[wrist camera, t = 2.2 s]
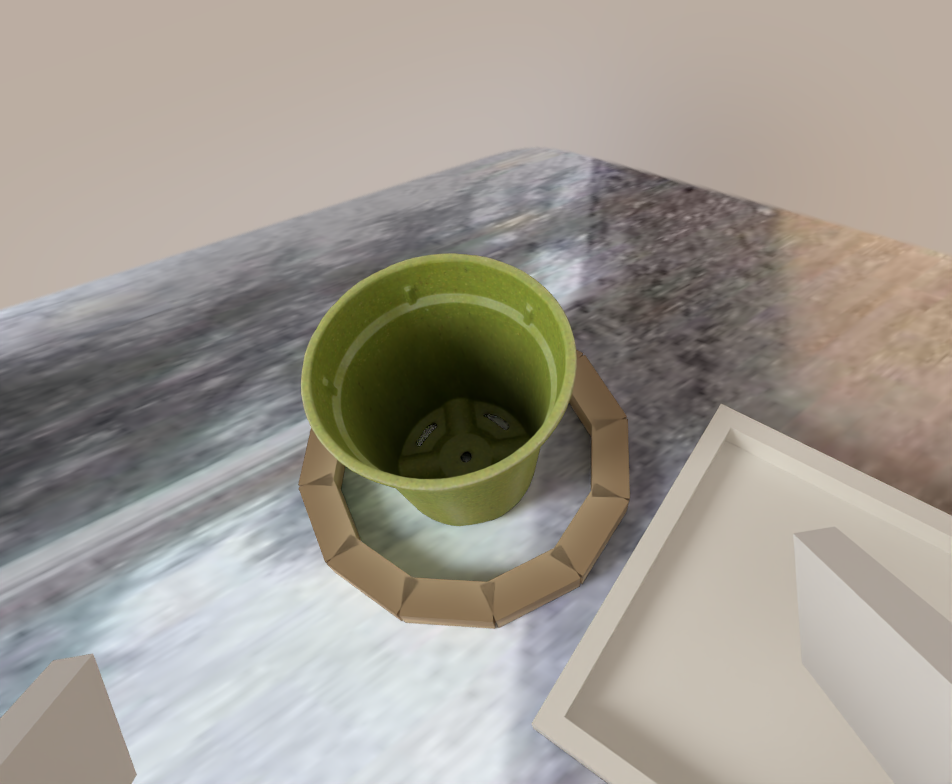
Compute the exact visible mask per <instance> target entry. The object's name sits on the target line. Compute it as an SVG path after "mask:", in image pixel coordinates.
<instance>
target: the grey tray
mask: <svg viewBox="0 0 952 784" xmlns="http://www.w3.org/2000/svg"><path fill="white" fill-rule="evenodd" d="M834 526H835V527H836V528H837V529H839V530H840V531H841V532H842V533H843V534H845V535H846V536H847V537H848V538H850V539H851V540H852V541H853V542H854V543H856V544H857V545H858V546H859V547H860V548H862V549H863V550H864V551H865V552H866V553H868V554H869V555H870V556H871V557H872V558H874V559H875V560H876V561H877V562H879V563H880V564H881V565H882V566H883V567H885V568H886V569H887V570H888V571H889V572H891V573H892V574H893V575H894V576H895V577H897V578H898V579H899V580H900V581H901V582H903V583H904V584H905V585H906V586H908V587H909V588H910V589H911V590H912V591H914V592H915V593H916V594H917V595H918V596H920V597H921V598H922V599H923V600H924V601H926V602H927V603H928V604H929V605H930V606H932V607H933V608H934V609H935V610H937V611H938V612H939V613H940V614H941V615H943V616H944V617H945V618H946V619H947V620H949V621H950V622H951V623H952V516H951V515H949V514H947V513H945V512H943V511H941V510H939V509H937V508H935V507H933V506H931V505H929V504H927V503H925V502H922V501H920V500H918V499H916V498H914V497H912V496H910V495H908V494H906V493H904V492H902V491H900V490H898V489H896V488H894V487H892V486H890V485H887V484H885V483H883V482H881V481H879V480H877V479H875V478H873V477H871V476H869V475H867V474H865V473H863V472H861V471H859V470H857V469H855V468H852V467H850V466H848V465H846V464H844V463H842V462H840V461H838V460H836V459H834V458H832V457H830V456H828V455H826V454H824V453H822V452H820V451H817V450H815V449H813V448H811V447H809V446H807V445H805V444H803V443H801V442H799V441H797V440H795V439H793V438H791V437H789V436H787V435H784V434H782V433H780V432H778V431H776V430H774V429H772V428H770V427H768V426H766V425H764V424H762V423H760V422H758V421H756V420H754V419H752V418H749V417H747V416H745V415H743V414H741V413H739V412H737V411H735V410H733V409H731V408H729V407H727V406H725V405H723V404H721V405H720V406H719V408H718V410H717V411H716V413H715V415H714V416H713V418H712V420H711V421H710V423H709V425H708V427H707V428H706V430H705V432H704V433H703V435H702V437H701V438H700V440H699V442H698V443H697V445H696V447H695V449H694V450H693V452H692V454H691V455H690V457H689V459H688V460H687V462H686V464H685V465H684V467H683V469H682V470H681V472H680V474H679V476H678V477H677V479H676V481H675V482H674V484H673V486H672V487H671V489H670V491H669V492H668V494H667V496H666V497H665V499H664V501H663V503H662V504H661V506H660V508H659V509H658V511H657V513H656V514H655V516H654V518H653V519H652V521H651V523H650V524H649V526H648V528H647V530H646V531H645V533H644V535H643V536H642V538H641V540H640V541H639V543H638V545H637V546H636V548H635V550H634V551H633V553H632V555H631V557H630V558H629V560H628V562H627V563H626V565H625V567H624V568H623V570H622V572H621V573H620V575H619V577H618V578H617V580H616V582H615V584H614V585H613V587H612V589H611V590H610V592H609V594H608V595H607V597H606V599H605V600H604V602H603V604H602V606H601V607H600V609H599V611H598V612H597V614H596V616H595V617H594V619H593V621H592V622H591V624H590V626H589V627H588V629H587V631H586V633H585V634H584V636H583V638H582V639H581V641H580V643H579V644H578V646H577V648H576V649H575V651H574V653H573V654H572V656H571V658H570V660H569V661H568V663H567V665H566V666H565V668H564V670H563V671H562V673H561V675H560V676H559V678H558V680H557V681H556V683H555V685H554V687H553V688H552V690H551V692H550V693H549V695H548V697H547V698H546V700H545V702H544V703H543V705H542V707H541V708H540V710H539V712H538V714H537V715H536V717H535V719H534V720H533V722H532V726H533V728H534V729H535V730H536V731H538V732H539V733H540V734H542V735H543V736H544V737H546V738H547V739H548V740H550V741H551V742H552V743H554V744H555V745H557V746H558V747H559V748H561V749H562V750H563V751H565V752H566V753H567V754H569V755H570V756H571V757H573V758H574V759H575V760H577V761H578V762H580V763H581V764H582V765H584V766H585V767H586V768H588V769H589V770H590V771H592V772H593V773H594V774H596V775H597V776H598V777H600V778H601V779H603V780H604V781H605V782H607V783H608V784H894V782H893V781H892V780H891V778H890V777H889V776H888V775H887V773H886V772H885V771H884V769H883V768H882V767H881V765H880V764H879V763H878V761H877V760H876V759H875V758H874V756H873V755H872V754H871V752H870V751H869V750H868V748H867V747H866V746H865V745H864V743H863V742H862V741H861V739H860V738H859V737H858V735H857V734H856V733H855V732H854V730H853V729H852V728H851V726H850V725H849V724H848V722H847V721H846V720H845V718H844V717H843V716H842V715H841V713H840V712H839V711H838V709H837V708H836V707H835V705H834V704H833V703H832V702H831V700H830V699H829V698H828V696H827V695H826V694H825V692H824V691H823V690H822V688H821V687H820V686H819V685H818V683H817V682H816V681H815V679H814V678H813V677H812V675H811V674H810V673H809V672H808V670H807V669H806V668H805V666H804V665H803V664H802V657H801V642H800V628H799V613H798V598H797V583H796V568H795V554H794V539H793V533H799V532H805V531H811V530H816V529H822V528H828V527H834Z"/></svg>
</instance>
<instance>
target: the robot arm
mask: <svg viewBox="0 0 952 784" xmlns="http://www.w3.org/2000/svg"><path fill="white" fill-rule="evenodd" d="M793 539H794V554H795V568H796V583H797V598H798V613H799V628H800V642H801V657H802V664H803V665H804V666H805V668H806V669H807V670H808V672H809V673H810V674H811V675H812V677H813V678H814V679H815V681H816V682H817V683H818V685H819V686H820V687H821V688H822V690H823V691H824V692H825V694H826V695H827V696H828V698H829V699H830V700H831V702H832V703H833V704H834V705H835V707H836V708H837V709H838V711H839V712H840V713H841V715H842V716H843V717H844V718H845V720H846V721H847V722H848V724H849V725H850V726H851V728H852V729H853V730H854V732H855V733H856V734H857V735H858V737H859V738H860V739H861V741H862V742H863V743H864V745H865V746H866V747H867V748H868V750H869V751H870V752H871V754H872V755H873V756H874V758H875V759H876V760H877V761H878V763H879V764H880V765H881V767H882V768H883V769H884V771H885V772H886V773H887V775H888V776H889V777H890V778H891V780H892V781H893V782H894V784H952V623H951V622H950V621H949V620H947V619H946V618H945V617H944V616H943V615H941V614H940V613H939V612H938V611H937V610H935V609H934V608H933V607H932V606H930V605H929V604H928V603H927V602H926V601H924V600H923V599H922V598H921V597H920V596H918V595H917V594H916V593H915V592H914V591H912V590H911V589H910V588H909V587H908V586H906V585H905V584H904V583H903V582H901V581H900V580H899V579H898V578H897V577H895V576H894V575H893V574H892V573H891V572H889V571H888V570H887V569H886V568H885V567H883V566H882V565H881V564H880V563H879V562H877V561H876V560H875V559H874V558H872V557H871V556H870V555H869V554H868V553H866V552H865V551H864V550H863V549H862V548H860V547H859V546H858V545H857V544H856V543H854V542H853V541H852V540H851V539H850V538H848V537H847V536H846V535H845V534H843V533H842V532H841V531H840V530H839V529H837V528H836V527H835V526H834V527H828V528H822V529H816V530H811V531H805V532H799V533H793ZM136 775H137V774H136V772H135V769H134V766H133V763H132V760H131V758H130V755H129V752H128V749H127V747H126V744H125V741H124V738H123V735H122V733H121V730H120V727H119V724H118V722H117V719H116V716H115V713H114V710H113V708H112V705H111V702H110V699H109V697H108V694H107V691H106V688H105V685H104V683H103V680H102V677H101V674H100V671H99V669H98V666H97V663H96V660H95V658H94V655H93V654H88V655H82V656H77V657H71V658H65V659H59V660H53V661H52V662H51V663H50V664H49V666H48V667H47V668H46V669H45V670H44V671H43V672H42V673H41V674H40V676H39V677H38V678H37V679H36V680H35V681H34V682H33V683H32V684H31V685H30V687H29V688H28V689H27V690H26V691H25V692H24V693H23V694H22V695H21V696H20V698H19V699H18V700H17V701H16V702H15V703H14V704H13V705H12V706H11V707H10V709H9V710H8V711H7V712H6V713H5V714H4V715H3V716H2V717H1V718H0V784H132V782H133V780H134V778H135V777H136Z"/></svg>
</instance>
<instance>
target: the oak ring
mask: <svg viewBox="0 0 952 784" xmlns="http://www.w3.org/2000/svg"><path fill="white" fill-rule="evenodd" d="M576 355H577V362H576V366H577V367H576V376H575V382H574V387H573V391H572V395H571V398H570V401H569V403H570V405H571V406H572V408H573V409H574V411H575V413H576V414H577V416H578V417H579V419H580V420H581V422H582V424H583V425H584V427H585V428H586V430H587V431H588V433H589V435H590V436H591V492H590V493H589V495H588V496H587V498H586V499H585V501H584V503H583V504H582V506H581V507H580V509H579V510H578V512H577V513H576V515H575V517H574V518H573V520H572V521H571V523H570V524H569V526H568V527H567V529H566V531H565V532H564V534H563V535H562V537H561V538H560V540H559V541H558V543H557V545H556V546H555V548H553V549H551V550H549V551H547V552H545V553H543V554H541V555H539V556H538V557H536V558H534V559H532V560H530V561H528V562H526V563H524V564H522V565H520V566H518V567H516V568H514V569H512V570H510V571H508V572H506V573H504V574H502V575H500V576H498V577H496V578H494V579H492V580H490V581H488V582H482V581H464V580H447V579H429V578H413V577H411V576H410V575H408V574H407V573H406V572H404V571H403V570H401V569H400V568H398V567H397V566H396V565H394V564H393V563H391V562H390V561H388V560H387V559H386V558H384V557H383V556H381V555H380V554H378V553H377V552H376V551H374V550H373V549H371V548H370V547H368V546H367V545H366V544H364V543H363V542H361V539H360V537H359V534H358V532H357V529H356V527H355V524H354V522H353V519H352V517H351V514H350V511H349V509H348V506H347V504H346V501H345V499H344V496H343V494H342V491H341V486H342V481H343V476H344V471H345V465H343V464H342V463H340V462H339V461H338V460H337V459H336V458H335V457H334V456H333V455H332V454H331V453H330V452H329V451H328V450H327V449H326V448H325V447H324V445H323V444H322V443H321V442H320V441H319V439H318V438H317V436H316V434H315V433H314V431H313V430H312V428H311V431H310V435H309V440H308V444H307V448H306V453H305V457H304V462H303V466H302V471H301V475H300V480H299V484H298V485H299V486H300V487H299V491H300V493H301V496H302V499H303V502H304V504H305V507H306V510H307V513H308V516H309V518H310V521H311V524H312V527H313V530H314V532H315V535H316V538H317V541H318V543H319V546H320V549H321V552H322V555H323V557H324V560H325V562H326V563H327V565H328V566H329V567H330V568H331V569H332V570H333V571H334V572H335V573H337V574H338V575H339V576H341V577H342V578H344V579H345V580H346V581H348V582H349V583H350V584H352V585H353V586H354V587H356V588H357V589H359V590H360V591H361V592H363V593H364V594H365V595H367V596H368V597H369V598H371V599H372V600H374V601H375V602H376V603H378V604H379V605H380V606H382V607H383V608H384V609H386V610H387V611H389V612H390V613H391V614H393V615H394V616H395V617H397V618H398V619H399V620H401V621H403V620H404V622H405V623H418V624H433V625H448V626H463V627H478V628H493V629H495V623H497V625H498V627H501V626H503V625H505V624H507V623H509V622H511V621H513V620H515V619H517V618H519V617H521V616H523V615H525V614H527V613H529V612H531V611H533V610H535V609H537V608H539V607H540V606H542V605H544V604H546V603H548V602H550V601H552V600H554V599H556V598H558V597H560V596H562V595H564V594H566V593H568V592H570V591H572V590H574V589H576V588H578V587H579V586H580V583H581V584H583V582H584V580H585V579H586V577H587V575H588V574H589V572H590V570H591V569H592V567H593V566H594V564H595V562H596V561H597V559H598V557H599V556H600V554H601V552H602V551H603V549H604V548H605V546H606V544H607V543H608V541H609V539H610V538H611V536H612V535H613V533H614V531H615V530H616V528H617V526H618V525H619V523H620V521H621V520H622V518H623V517H624V515H625V513H626V511H627V508H628V503H629V499H630V489H629V451H628V419H626V418H627V416H626V415H625V413H624V412H623V410H622V409H621V407H620V406H619V404H618V403H617V401H616V400H615V398H614V397H613V395H612V394H611V392H610V391H609V390H608V388H607V387H606V385H605V384H604V382H603V381H602V379H601V378H600V376H599V375H598V373H597V372H596V370H595V369H594V367H593V366H592V365H591V363H590V362H589V360H588V359H587V357H586V356H585V355H584V356H583V353H582V352H580V351H578V350H576Z"/></svg>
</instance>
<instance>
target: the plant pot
mask: <svg viewBox="0 0 952 784" xmlns="http://www.w3.org/2000/svg"><path fill="white" fill-rule="evenodd" d="M576 362H577V355H576V346H575V341H574V336H573V333H572V330H571V327H570V324H569V321H568V319H567V317H566V315H565V313H564V311H563V309H562V307H561V306H560V304H559V303H558V302H557V300H556V299H555V298H554V297H553V296H552V294H551V293H550V292H549V291H548V290H547V289H546V288H545V287H544V286H542V285H541V284H540V283H539V282H537V281H536V280H535V279H534V278H532V277H531V276H530V275H528V274H526V273H525V272H523V271H522V270H520V269H517V268H515V267H513V266H510V265H508V264H505V263H503V262H500V261H497V260H495V259H491V258H487V257H483V256H477V255H467V254H456V253H455V254H451V253H450V254H434V255H427V256H421V257H416V258H411V259H407V260H404V261H402V262H399V263H396V264H394V265H391V266H389V267H387V268H385V269H383V270H380V271H379V272H377V273H374V274H372V275H370V276H369V277H367V278H365V279H363V280H362V281H360V282H359V283H357V284H356V285H354V286H353V287H352V288H351V289H349V290H348V291H347V292H346V293H345V294H344V295H343V296H342V297H340V299H339V300H338V301H337V302H336V303H335V304H334V305H333V306H332V307H331V308H330V309H329V310H328V312H327V313H326V314H325V316H324V317H323V318H322V320H321V322H320V323H319V325H318V327H317V329H316V330H315V332H314V334H313V335H312V337H311V340H310V342H309V344H308V347H307V350H306V352H305V356H304V362H303V368H302V376H301V395H302V401H303V405H304V409H305V413H306V416H307V419H308V421H309V423H310V426H311V428H312V430H313V431H314V433H315V434H316V436H317V438H318V439H319V441H320V442H321V443H322V444H323V445H324V447H325V448H326V449H327V450H328V451H329V452H330V453H331V454H332V455H333V456H334V457H335V458H336V459H337V460H338V461H339V462H340V463H342V464H343V465H345V466H346V467H347V468H349V469H350V470H352V471H353V472H355V473H357V474H359V475H361V476H363V477H365V478H367V479H369V480H372V481H374V482H377V483H380V484H383V485H386V486H390V487H393V488H396V489H397V490H398V491H399V492H400V493H401V494H402V495H403V496H404V497H405V498H406V499H407V500H408V501H409V502H410V503H412V504H413V505H414V506H415V507H416V508H417V509H418V510H419V511H421V512H422V513H423V514H425V515H426V516H428V517H430V518H431V519H433V520H436V521H438V522H441V523H444V524H448V525H452V526H464V525H472V524H478V523H482V522H486V521H490V520H494V519H496V518H498V517H500V516H502V515H504V514H505V513H507V512H508V511H509V510H511V509H512V508H513V507H514V506H515V505H516V504H517V503H518V502H519V501H520V500H521V498H522V497H523V496H524V494H525V493H526V491H527V489H528V488H529V486H530V483H531V480H532V478H533V475H534V471H535V467H536V463H537V459H538V455H539V451H540V447H541V446H542V445H543V444H544V443H545V441H546V440H547V439H548V438H549V436H550V435H551V434H552V432H553V431H554V430H555V428H556V427H557V425H558V424H559V422H560V420H561V419H562V417H563V415H564V413H565V411H566V409H567V406H568V404H569V401H570V398H571V395H572V391H573V387H574V382H575V376H576V367H577V366H576ZM484 414H492V415H496V416H498V417H500V418H502V419H503V420H505V421H506V422H507V423H508V425H509V428H508V430H504V429H502V428H501V427H500V426H499V425H497V424H496V423H495V422H493V421H492V420H489V419H488V417H484ZM432 423H436V424H437V427H436V429H435V430H433V432H432V433H431V434H430V435H429V436H428V437H427V438H426V439H425V441H424V442H423V444H422V446H420V447H418V446H417V444H416V441H417V440H418V439H419V437H420V436H421V435H422V433H423V431H424V429H425V428H426V427H427V426H429V425H430V424H432ZM464 452H469V453H471V455H472V458H471V460H470V461H468V462H463V461H462V460H461V458H460V457H461V455H462V454H463V453H464Z"/></svg>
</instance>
